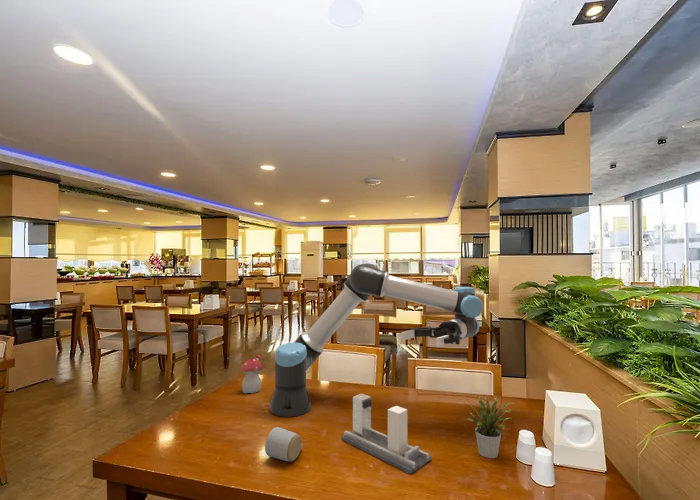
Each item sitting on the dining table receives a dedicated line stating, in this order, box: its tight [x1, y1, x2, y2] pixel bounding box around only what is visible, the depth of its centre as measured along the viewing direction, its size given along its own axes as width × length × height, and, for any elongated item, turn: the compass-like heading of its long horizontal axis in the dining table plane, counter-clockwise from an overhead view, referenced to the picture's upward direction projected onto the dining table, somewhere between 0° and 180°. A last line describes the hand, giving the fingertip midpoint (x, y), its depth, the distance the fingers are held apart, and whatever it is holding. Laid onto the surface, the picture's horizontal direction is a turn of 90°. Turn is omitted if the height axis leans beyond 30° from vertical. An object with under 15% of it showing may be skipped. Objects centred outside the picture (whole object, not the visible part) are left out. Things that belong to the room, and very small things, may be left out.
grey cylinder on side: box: [264, 426, 303, 463], centre depth 104 cm, size 11×8×8 cm
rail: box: [341, 393, 432, 475], centre depth 108 cm, size 26×10×13 cm, turn 45°
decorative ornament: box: [240, 354, 263, 394], centre depth 156 cm, size 9×7×15 cm
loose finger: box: [386, 405, 408, 456], centre depth 105 cm, size 5×4×12 cm
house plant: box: [463, 394, 514, 459], centre depth 105 cm, size 14×14×16 cm
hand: (418, 339), depth 120 cm, fingers open, 13 cm apart
